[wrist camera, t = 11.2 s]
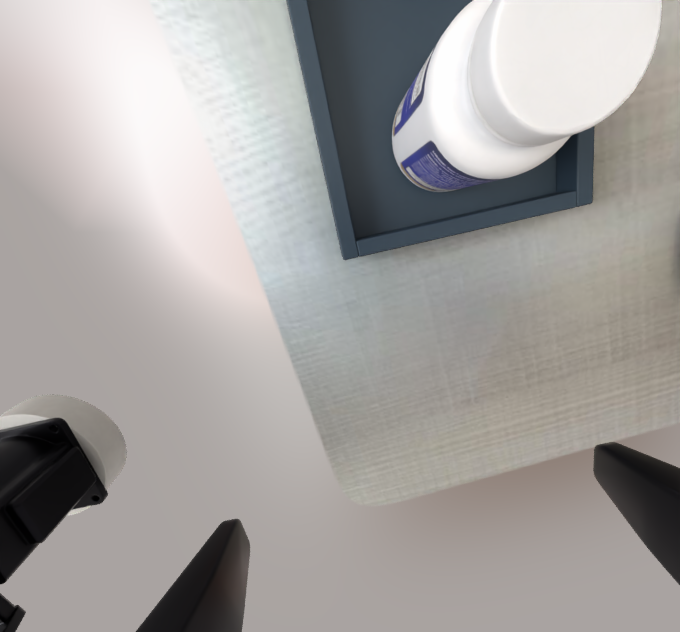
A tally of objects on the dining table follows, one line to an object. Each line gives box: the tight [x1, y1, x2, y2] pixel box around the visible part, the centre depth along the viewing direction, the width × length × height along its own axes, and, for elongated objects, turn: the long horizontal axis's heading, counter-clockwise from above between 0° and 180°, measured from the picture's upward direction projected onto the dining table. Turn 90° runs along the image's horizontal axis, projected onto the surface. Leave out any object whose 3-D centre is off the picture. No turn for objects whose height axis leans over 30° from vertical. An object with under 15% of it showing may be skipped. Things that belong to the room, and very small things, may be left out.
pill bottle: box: [392, 0, 662, 192], centre depth 11 cm, size 5×5×9 cm
